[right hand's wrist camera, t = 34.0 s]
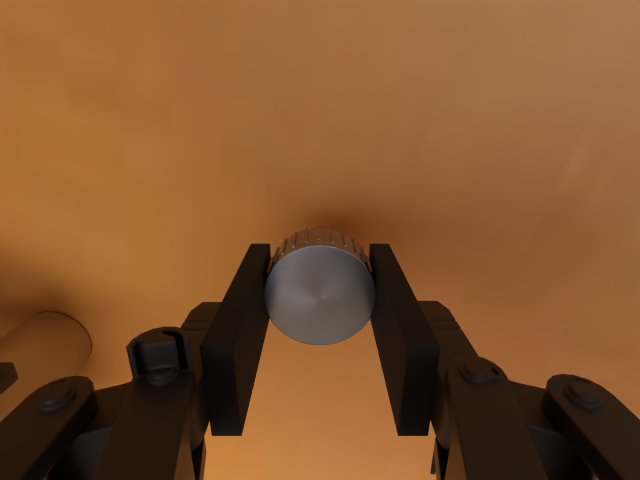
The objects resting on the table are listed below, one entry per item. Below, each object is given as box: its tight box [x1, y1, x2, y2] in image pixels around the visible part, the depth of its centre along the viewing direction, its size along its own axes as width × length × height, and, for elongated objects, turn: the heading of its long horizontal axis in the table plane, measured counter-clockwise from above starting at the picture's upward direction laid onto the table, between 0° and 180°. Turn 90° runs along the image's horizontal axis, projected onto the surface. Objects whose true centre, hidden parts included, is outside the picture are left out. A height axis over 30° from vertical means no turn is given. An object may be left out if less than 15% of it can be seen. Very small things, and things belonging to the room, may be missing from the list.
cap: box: [264, 227, 376, 345], centre depth 14 cm, size 4×4×2 cm
